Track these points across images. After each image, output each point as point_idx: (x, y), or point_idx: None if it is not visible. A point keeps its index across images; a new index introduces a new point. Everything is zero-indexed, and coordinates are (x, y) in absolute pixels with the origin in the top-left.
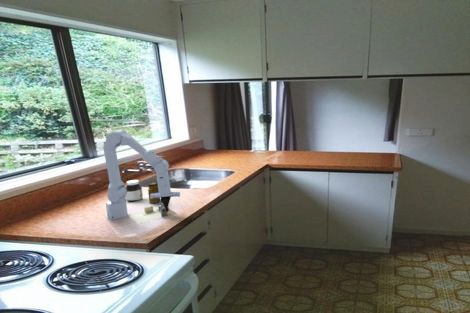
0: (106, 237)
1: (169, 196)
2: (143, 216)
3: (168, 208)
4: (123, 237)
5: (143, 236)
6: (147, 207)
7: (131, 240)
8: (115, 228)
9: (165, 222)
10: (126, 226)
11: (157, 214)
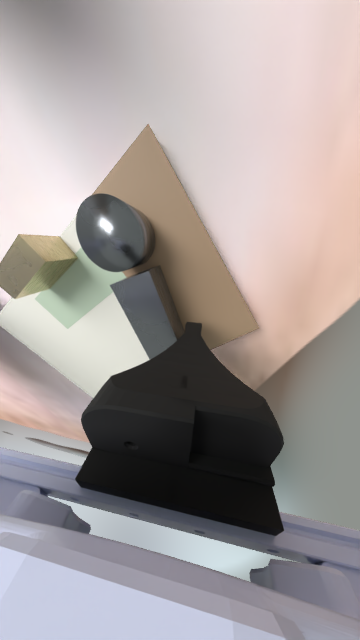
0: (57, 427)
1: (261, 543)
2: (66, 332)
3: (201, 330)
4: None
5: None
6: (7, 270)
7: None
8: (34, 390)
9: None
10: (59, 385)
11: None
